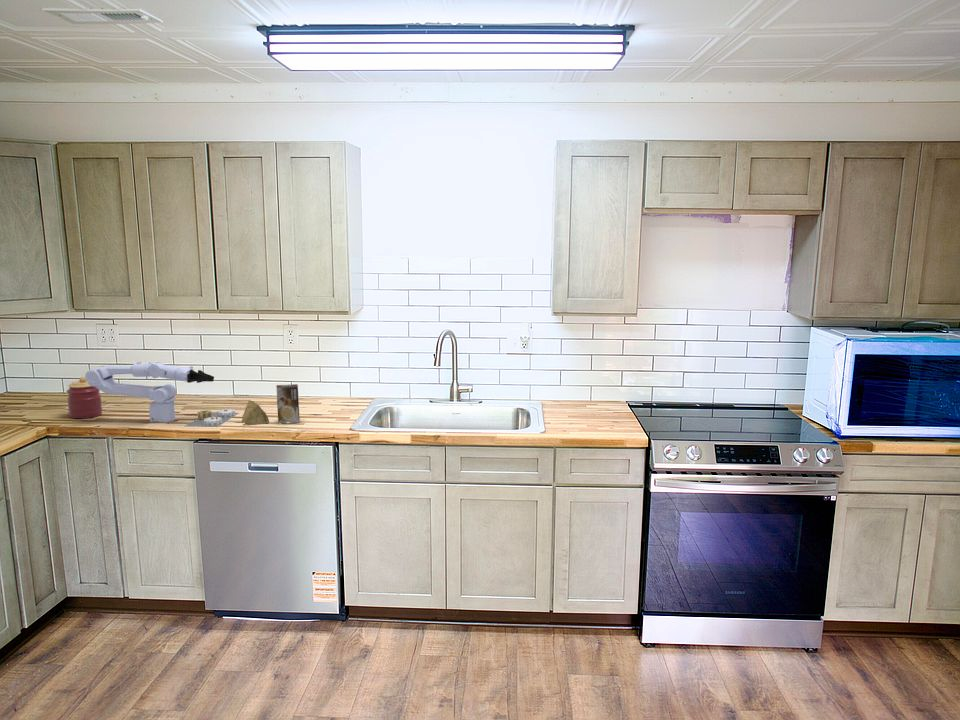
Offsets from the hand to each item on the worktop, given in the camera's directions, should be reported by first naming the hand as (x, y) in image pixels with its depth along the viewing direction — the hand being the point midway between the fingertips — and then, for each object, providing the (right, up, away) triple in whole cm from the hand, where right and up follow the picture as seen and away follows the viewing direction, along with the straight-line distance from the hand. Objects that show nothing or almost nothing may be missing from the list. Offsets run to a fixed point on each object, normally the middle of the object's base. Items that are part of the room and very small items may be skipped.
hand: (210, 378), depth 282 cm
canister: (-60, -17, +12) cm, 63 cm away
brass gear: (-5, -17, +6) cm, 19 cm away
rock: (+19, -20, +2) cm, 27 cm away
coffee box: (+32, -19, +6) cm, 38 cm away
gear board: (-1, -19, +5) cm, 19 cm away
